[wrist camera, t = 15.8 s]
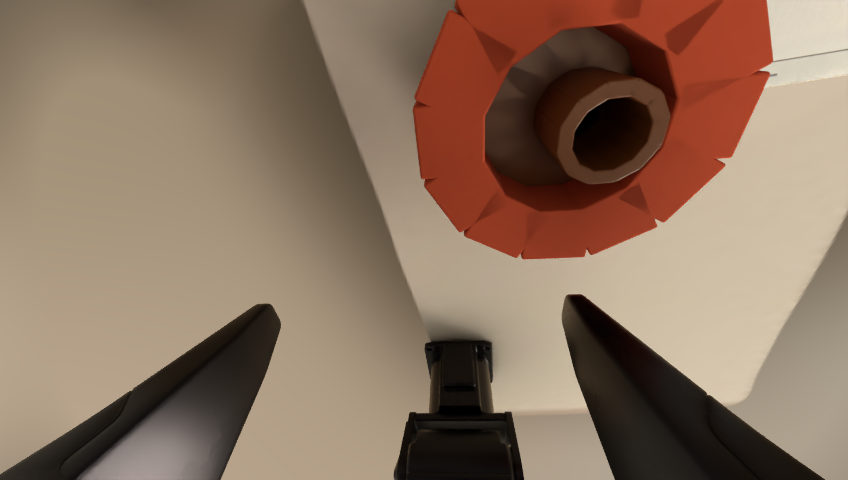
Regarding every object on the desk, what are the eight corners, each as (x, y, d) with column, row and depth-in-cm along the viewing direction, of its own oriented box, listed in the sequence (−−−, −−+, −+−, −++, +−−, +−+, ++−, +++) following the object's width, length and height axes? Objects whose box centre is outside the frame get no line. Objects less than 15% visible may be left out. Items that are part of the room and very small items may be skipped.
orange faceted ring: (655, 223, 13) (688, 253, 12) (433, 234, 15) (430, 263, 13) (775, -99, 8) (871, -138, 6) (404, -41, 9) (392, -59, 7)
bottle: (596, 149, 19) (713, 244, 10) (462, 162, 20) (472, 257, 11) (629, -24, 14) (881, -99, 6) (454, 5, 15) (458, -25, 7)
